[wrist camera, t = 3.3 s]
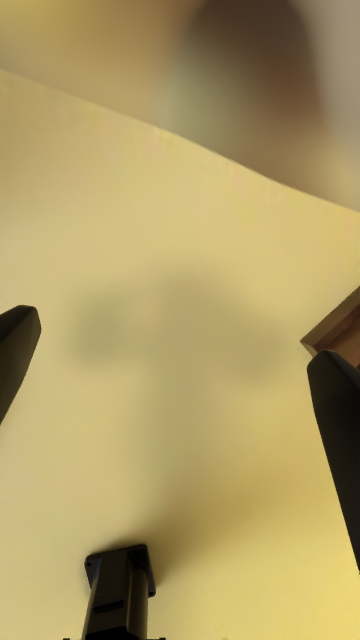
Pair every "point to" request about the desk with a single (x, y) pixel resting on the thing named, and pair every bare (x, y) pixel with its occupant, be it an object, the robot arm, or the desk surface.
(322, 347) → the rack
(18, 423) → the desk surface
